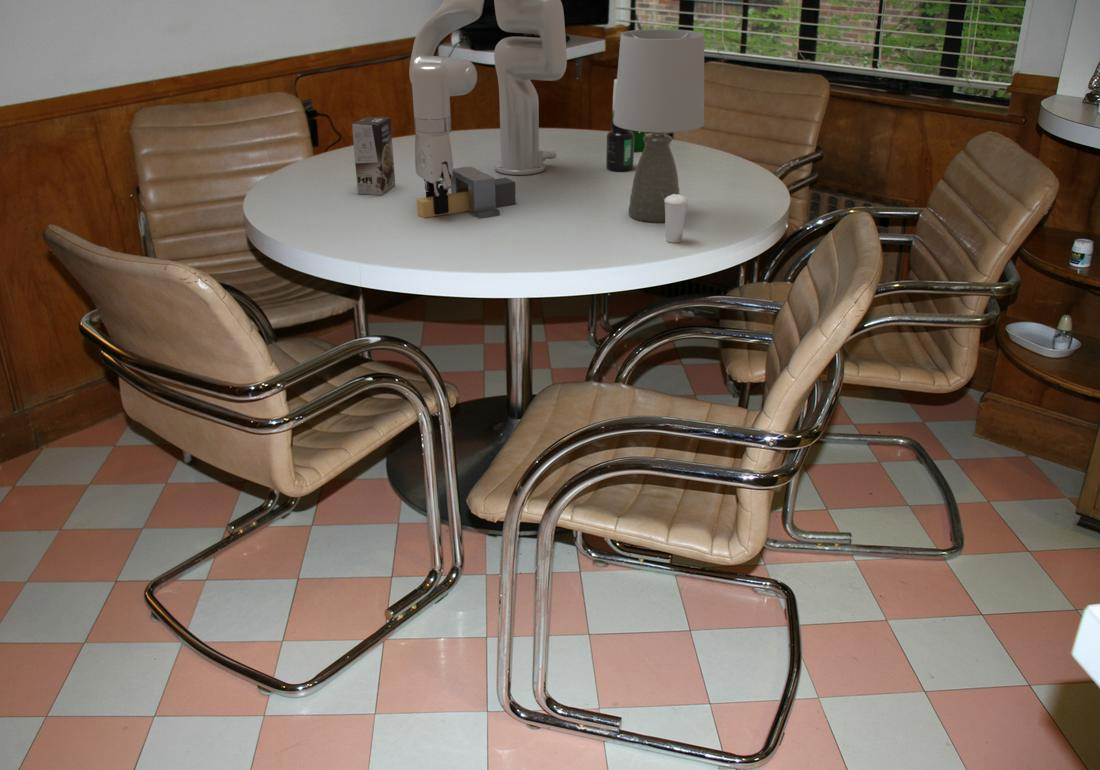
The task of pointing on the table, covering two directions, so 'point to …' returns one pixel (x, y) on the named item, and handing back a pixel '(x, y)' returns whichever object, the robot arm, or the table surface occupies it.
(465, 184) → the housing
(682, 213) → the milkshake
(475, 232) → the table surface
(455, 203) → the plug
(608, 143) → the supplement bottle
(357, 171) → the coffee box
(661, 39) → the lamp
